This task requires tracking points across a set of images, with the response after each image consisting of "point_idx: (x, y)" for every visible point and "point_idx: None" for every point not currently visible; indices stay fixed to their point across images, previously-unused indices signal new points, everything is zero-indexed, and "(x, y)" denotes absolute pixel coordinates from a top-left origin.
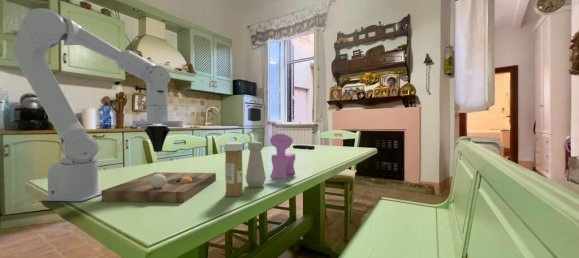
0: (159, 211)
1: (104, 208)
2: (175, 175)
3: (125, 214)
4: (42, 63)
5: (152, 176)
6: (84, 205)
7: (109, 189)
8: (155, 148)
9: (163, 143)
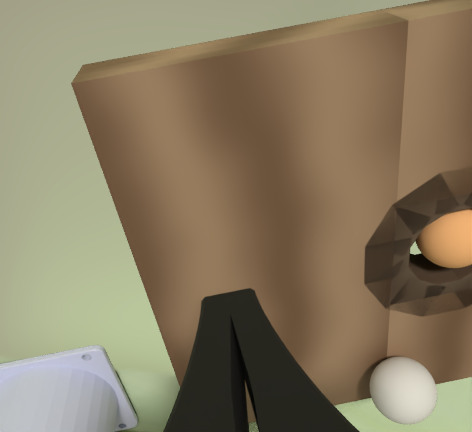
0: (440, 397)
1: None
2: (331, 151)
3: (362, 428)
4: None
5: (393, 420)
6: None
7: None
8: (245, 380)
9: (284, 347)
